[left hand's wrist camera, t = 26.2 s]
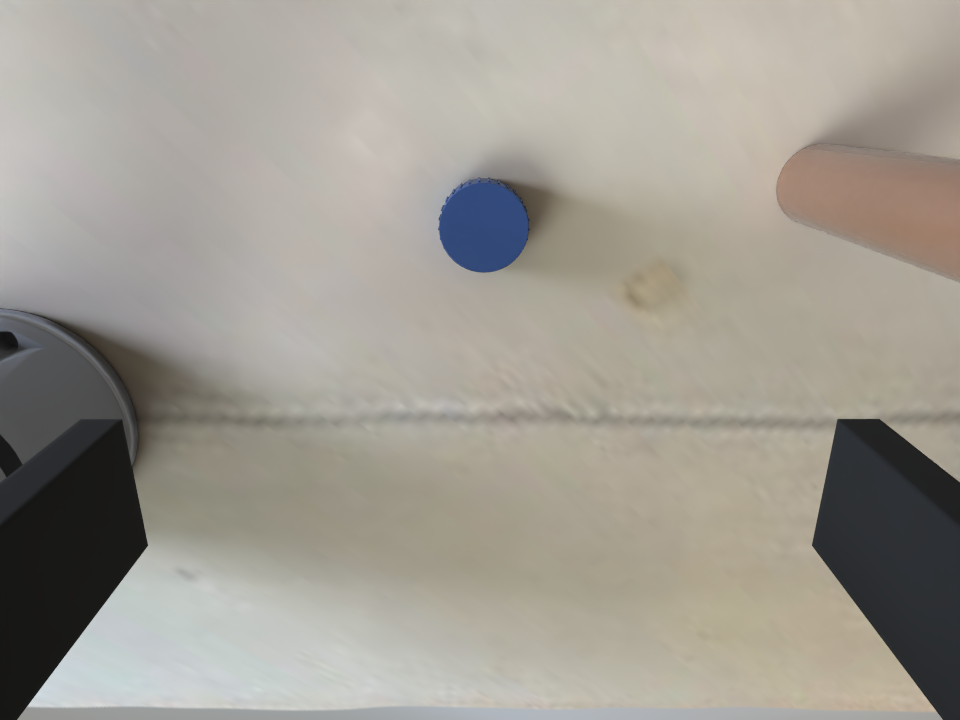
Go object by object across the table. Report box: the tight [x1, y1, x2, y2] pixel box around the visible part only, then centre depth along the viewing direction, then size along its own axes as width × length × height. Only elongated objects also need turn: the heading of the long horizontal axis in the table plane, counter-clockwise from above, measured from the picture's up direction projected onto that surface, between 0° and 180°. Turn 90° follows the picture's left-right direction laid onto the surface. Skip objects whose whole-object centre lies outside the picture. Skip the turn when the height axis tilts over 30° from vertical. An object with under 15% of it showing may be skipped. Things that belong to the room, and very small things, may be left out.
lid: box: [438, 178, 529, 272], centre depth 40 cm, size 5×5×2 cm
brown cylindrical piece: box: [777, 144, 960, 283], centre depth 31 cm, size 5×5×20 cm
